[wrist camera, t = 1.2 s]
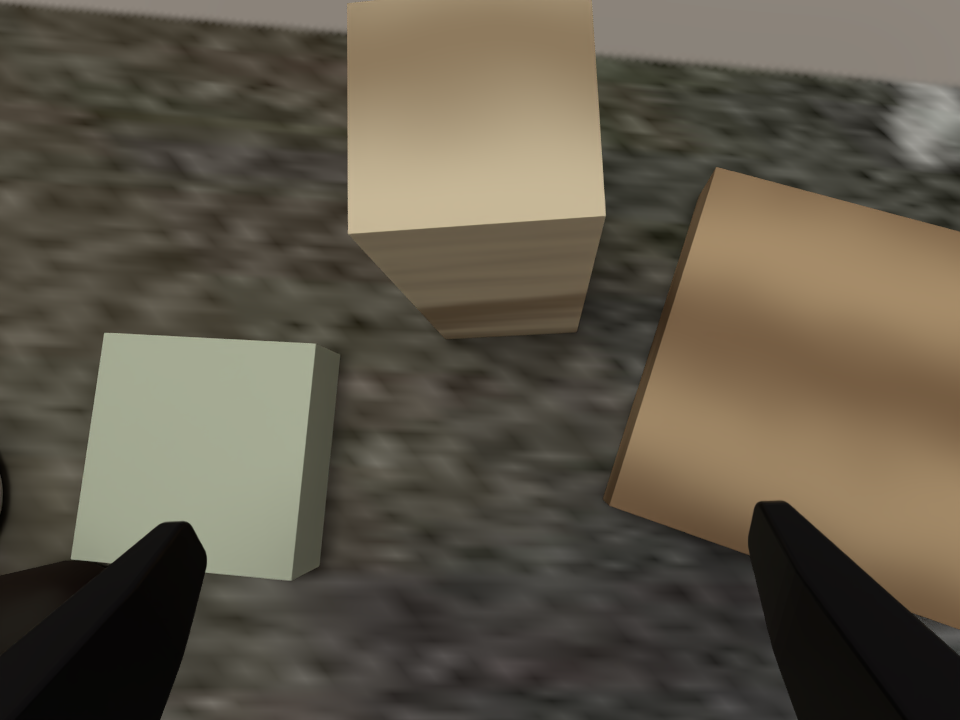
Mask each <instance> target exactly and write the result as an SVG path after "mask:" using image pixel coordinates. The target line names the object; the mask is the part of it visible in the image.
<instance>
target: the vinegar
mask: <svg viewBox="0 0 960 720" xmlns="http://www.w3.org/2000/svg"><path fill="white" fill-rule="evenodd" d="M104 569H105V568H104V567H102V566H100V565H98V564H96V563H89V562H76V561H62V562H57V563H53V564H49V565H44V566H40V567H36V568H32V569H27V570H23V571H19V572H14V573H10V574H6V575H1V576H0V655H1V654H2V653H3V652H5V651H6V650H7V649H8V648H9V647H11V646H12V645H13V644H14V643H15V642H17V641H18V640H19V639H20V638H22V637H23V636H24V635H25V634H26V633H28V632H29V631H30V630H31V629H32V628H34V627H35V626H36V625H37V624H39V623H40V622H41V621H42V620H43V619H45V618H46V617H47V616H48V615H49V614H51V613H52V612H53V611H54V610H56V609H57V608H58V607H59V606H60V605H62V604H63V603H64V602H65V601H66V600H68V599H69V598H70V597H71V596H72V595H74V594H75V593H76V592H77V591H79V590H80V589H81V588H82V587H83V586H85V585H86V584H87V583H88V582H89V581H91V580H92V579H93V578H94V577H96V576H97V575H98V574H99V573H100V572H102V571H103V570H104Z"/></svg>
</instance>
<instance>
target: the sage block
mask: <svg viewBox="0 0 960 720" xmlns="http://www.w3.org/2000/svg"><path fill="white" fill-rule="evenodd" d="M339 364H340V354H338V353H335V352H333V351H331V350H329V349H326V348H324V347H322V346H320V345H318V344H311V343H292V342H273V341H253V340H234V339H215V338H196V337H176V336H157V335H138V334H119V333H104V339H103V346H102V353H101V359H100V366H99V373H98V380H97V386H96V393H95V400H94V406H93V413H92V420H91V427H90V433H89V440H88V447H87V454H86V460H85V467H84V474H83V480H82V487H81V494H80V501H79V507H78V514H77V521H76V527H75V534H74V541H73V548H72V554H71V559H73V560H83V561H94V562H104V563H113V562H114V561H115V560H116V559H117V558H119V557H120V556H121V555H122V554H123V553H125V552H126V551H127V550H128V549H130V548H131V547H132V546H133V545H134V544H136V543H137V542H138V541H139V540H140V539H142V538H143V537H144V536H145V535H146V534H148V533H149V532H150V531H151V530H153V529H154V528H155V527H156V526H158V525H159V524H161V523H163V522H168V521H187V522H188V523H190V524H191V525H192V527H193V529H194V531H195V532H196V534H197V536H198V538H199V540H200V542H201V543H202V545H203V547H204V549H205V551H206V555H207V567H206V571H205V572H206V573H217V574H227V575H237V576H247V577H258V578H268V579H278V580H288V581H292V580H294V579H296V578H298V577H300V576H302V575H303V574H305V573H307V572H309V571H311V570H313V569H315V568H317V567H319V566H320V556H321V546H322V536H323V526H324V516H325V506H326V496H327V486H328V476H329V465H330V455H331V445H332V435H333V425H334V415H335V405H336V395H337V385H338V374H339Z"/></svg>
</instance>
